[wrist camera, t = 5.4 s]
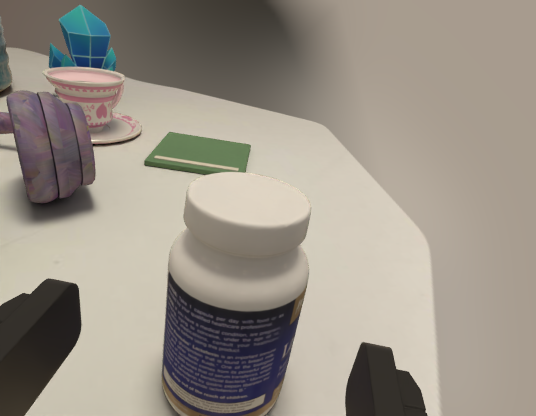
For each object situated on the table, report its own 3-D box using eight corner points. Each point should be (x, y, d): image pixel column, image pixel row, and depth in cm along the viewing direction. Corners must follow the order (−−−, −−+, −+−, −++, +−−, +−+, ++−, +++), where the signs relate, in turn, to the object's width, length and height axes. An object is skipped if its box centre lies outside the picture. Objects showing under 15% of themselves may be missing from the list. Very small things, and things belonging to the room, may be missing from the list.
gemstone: (49, 92, 58) (40, -2, 52) (111, 93, 63) (109, 7, 57) (60, 107, 53) (52, 5, 47) (127, 106, 58) (127, 14, 52)
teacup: (72, 154, 40) (67, 91, 37) (5, 121, 45) (-3, 63, 42) (163, 134, 49) (164, 82, 46) (99, 109, 54) (97, 61, 52)
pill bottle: (297, 423, 18) (353, 233, 14) (165, 448, 16) (179, 237, 12) (261, 329, 23) (294, 165, 18) (157, 340, 21) (164, 161, 16)
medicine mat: (250, 148, 50) (250, 143, 49) (243, 180, 41) (244, 175, 41) (169, 135, 49) (169, 130, 49) (144, 165, 40) (144, 159, 40)
